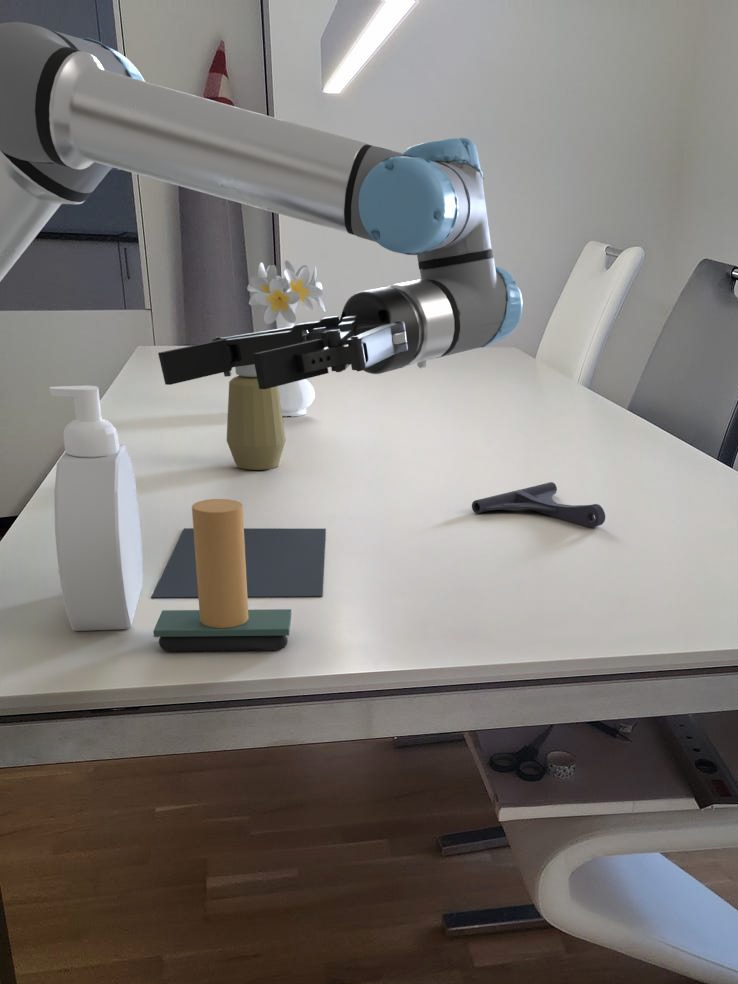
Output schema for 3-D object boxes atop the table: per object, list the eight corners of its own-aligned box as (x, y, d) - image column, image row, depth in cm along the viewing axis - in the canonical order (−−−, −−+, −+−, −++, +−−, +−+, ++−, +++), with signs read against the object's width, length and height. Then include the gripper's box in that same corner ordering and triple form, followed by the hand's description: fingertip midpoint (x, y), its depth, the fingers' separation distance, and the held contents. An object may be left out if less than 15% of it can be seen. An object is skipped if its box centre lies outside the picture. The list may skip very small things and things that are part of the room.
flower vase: (253, 425, 171) (246, 265, 161) (252, 404, 188) (245, 258, 178) (332, 424, 174) (330, 267, 164) (324, 404, 190) (321, 260, 180)
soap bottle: (89, 578, 102) (65, 372, 94) (145, 577, 103) (126, 372, 95) (62, 642, 87) (31, 405, 79) (128, 640, 88) (104, 405, 80)
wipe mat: (151, 598, 98) (151, 597, 97) (183, 529, 118) (183, 528, 118) (322, 596, 100) (322, 595, 100) (325, 529, 120) (325, 528, 120)
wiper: (155, 655, 86) (142, 513, 81) (164, 633, 90) (152, 497, 85) (289, 653, 87) (284, 513, 82) (292, 632, 91) (287, 498, 87)
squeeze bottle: (258, 456, 151) (253, 329, 144) (298, 466, 147) (294, 335, 140) (215, 466, 145) (207, 333, 138) (255, 476, 140) (249, 339, 133)
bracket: (562, 540, 119) (564, 517, 118) (471, 511, 129) (472, 490, 127) (636, 519, 129) (639, 497, 128) (547, 494, 138) (548, 473, 137)
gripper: (497, 369, 92) (313, 423, 78) (318, 365, 108) (140, 409, 94) (488, 280, 89) (295, 320, 75) (305, 290, 105) (119, 324, 91)
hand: (208, 370), depth 84 cm, fingers open, 13 cm apart
